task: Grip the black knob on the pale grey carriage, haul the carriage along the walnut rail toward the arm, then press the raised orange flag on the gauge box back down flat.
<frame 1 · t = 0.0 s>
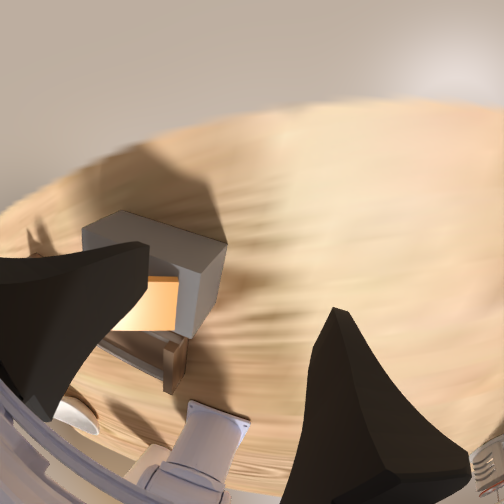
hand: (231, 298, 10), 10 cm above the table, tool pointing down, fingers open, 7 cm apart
spoon rest: (69, 398, 46), on the table
gauge box: (166, 255, 22), on the table
french press: (491, 445, 24), on the table
foam cup: (165, 451, 41), on the table
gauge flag: (122, 304, 16), point 7 cm above the table, hinge at 35.0°
rail: (96, 310, 28), on the table
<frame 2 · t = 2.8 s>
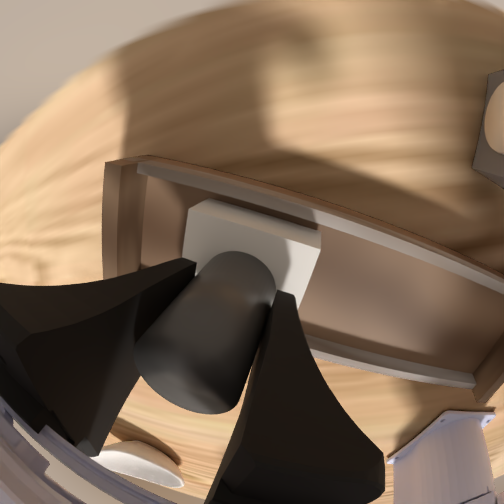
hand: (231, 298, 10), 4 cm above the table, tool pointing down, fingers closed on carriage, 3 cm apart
spoon rest: (123, 438, 32), on the table
carriage: (225, 307, 9), point 5 cm above the table, slide at 5.0 cm, touching gripper
rail: (351, 283, 13), on the table
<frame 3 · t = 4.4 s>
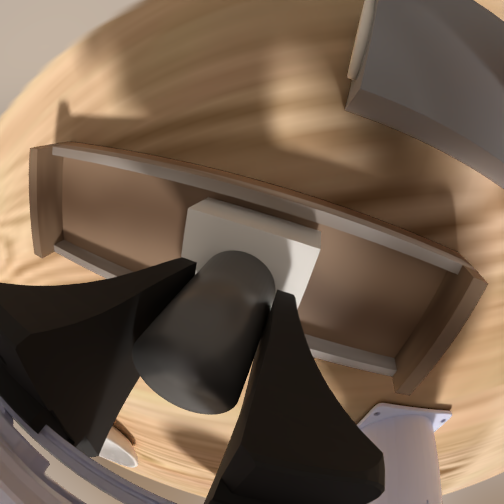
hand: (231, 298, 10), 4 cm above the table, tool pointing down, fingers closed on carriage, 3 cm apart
spoon rest: (87, 415, 33), on the table
gauge box: (453, 100, 9), on the table
carriage: (225, 307, 9), point 5 cm above the table, slide at -1.9 cm, touching gripper
rail: (221, 240, 14), on the table
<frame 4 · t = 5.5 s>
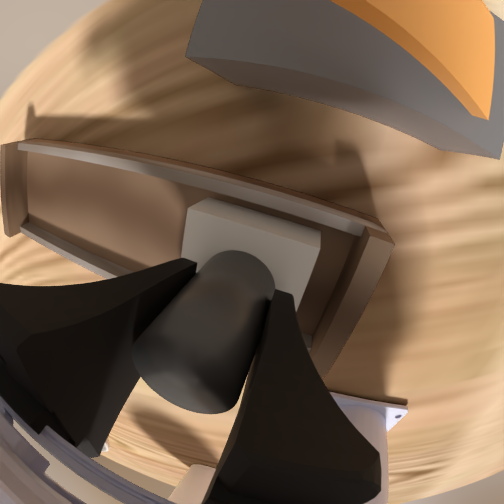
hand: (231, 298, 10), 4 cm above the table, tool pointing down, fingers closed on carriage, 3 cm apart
gauge box: (355, 56, 9), on the table
foam cup: (212, 472, 28), on the table
carriage: (224, 306, 9), point 5 cm above the table, slide at -7.0 cm, touching gripper
rail: (140, 214, 15), on the table
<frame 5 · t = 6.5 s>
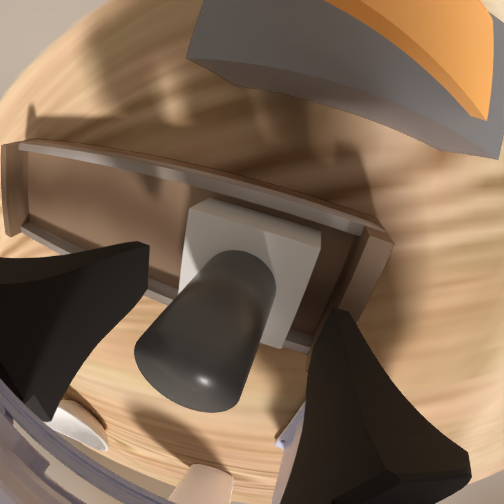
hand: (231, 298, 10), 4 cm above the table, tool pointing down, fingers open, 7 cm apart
spoon rest: (66, 400, 34), on the table
gauge box: (354, 57, 9), on the table
foam cup: (212, 472, 28), on the table
carriage: (226, 306, 9), point 5 cm above the table, slide at -7.0 cm
rail: (141, 215, 15), on the table
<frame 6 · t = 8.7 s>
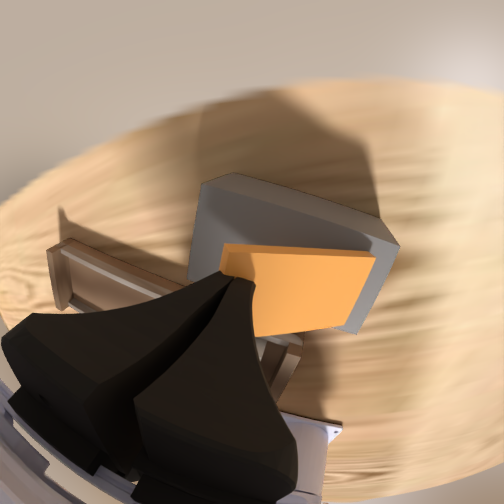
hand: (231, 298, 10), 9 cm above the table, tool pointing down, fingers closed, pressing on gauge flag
gauge box: (295, 233, 18), on the table
carriage: (215, 381, 18), point 5 cm above the table, slide at -7.0 cm
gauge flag: (297, 293, 11), point 7 cm above the table, hinge at 35.0°, touching gripper
rail: (162, 310, 24), on the table
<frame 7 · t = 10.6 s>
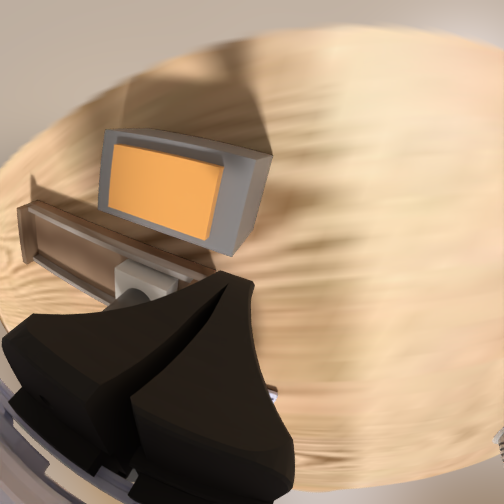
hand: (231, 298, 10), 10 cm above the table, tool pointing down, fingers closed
gauge box: (197, 174, 19), on the table
carriage: (128, 313, 20), point 5 cm above the table, slide at -7.0 cm
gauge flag: (158, 187, 15), point 5 cm above the table, hinge at -0.8°, touching gauge box
rail: (102, 258, 25), on the table
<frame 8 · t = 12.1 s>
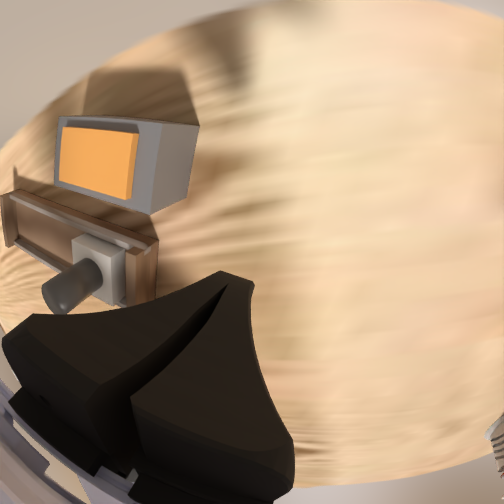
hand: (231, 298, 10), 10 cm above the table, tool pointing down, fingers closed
gauge box: (138, 151, 20), on the table
carriage: (80, 280, 20), point 5 cm above the table, slide at -7.0 cm
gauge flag: (92, 158, 15), point 5 cm above the table, hinge at -0.4°, touching gauge box
rail: (69, 237, 25), on the table
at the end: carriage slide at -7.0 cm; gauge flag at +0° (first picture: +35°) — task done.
